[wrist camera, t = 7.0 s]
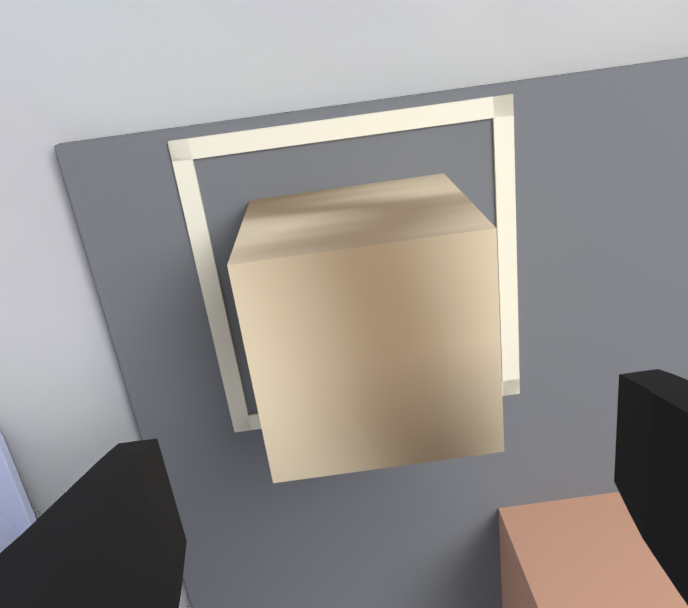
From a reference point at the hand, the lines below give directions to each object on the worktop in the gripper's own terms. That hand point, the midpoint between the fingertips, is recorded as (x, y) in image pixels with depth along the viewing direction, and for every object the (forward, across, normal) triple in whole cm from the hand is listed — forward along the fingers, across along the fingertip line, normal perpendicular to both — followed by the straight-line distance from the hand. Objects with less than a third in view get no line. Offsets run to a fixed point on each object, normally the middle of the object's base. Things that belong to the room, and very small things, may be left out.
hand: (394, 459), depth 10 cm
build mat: (+8, -3, +5) cm, 10 cm away
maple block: (+8, 0, 0) cm, 8 cm away
